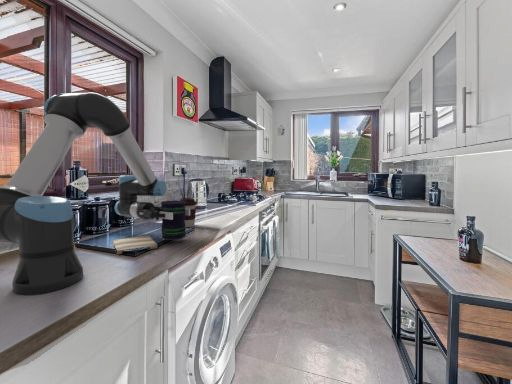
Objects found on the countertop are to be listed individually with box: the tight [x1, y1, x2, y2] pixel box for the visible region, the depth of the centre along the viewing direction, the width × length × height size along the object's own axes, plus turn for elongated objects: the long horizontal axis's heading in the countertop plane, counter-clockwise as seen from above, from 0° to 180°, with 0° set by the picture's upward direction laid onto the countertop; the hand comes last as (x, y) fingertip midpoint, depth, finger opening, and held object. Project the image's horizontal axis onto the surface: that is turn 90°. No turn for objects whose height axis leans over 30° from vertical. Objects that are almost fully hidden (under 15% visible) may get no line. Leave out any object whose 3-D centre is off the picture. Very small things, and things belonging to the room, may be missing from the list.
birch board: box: [112, 235, 158, 255], centre depth 104 cm, size 16×14×2 cm
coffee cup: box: [179, 197, 198, 228], centre depth 138 cm, size 10×10×15 cm
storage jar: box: [160, 200, 187, 241], centre depth 109 cm, size 10×10×15 cm
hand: (181, 214), depth 107 cm, fingers closed on storage jar, 10 cm apart
